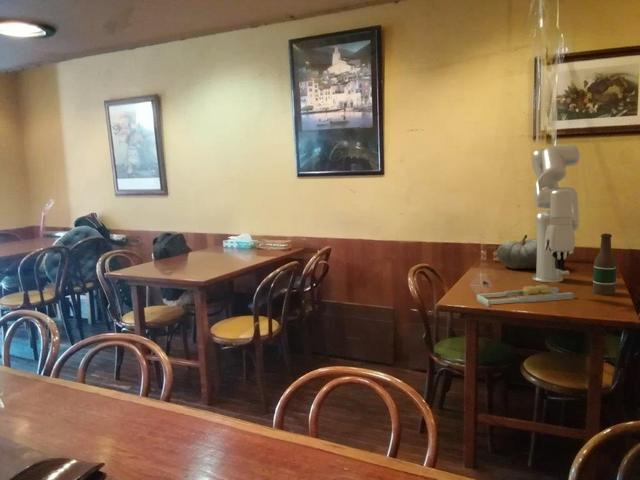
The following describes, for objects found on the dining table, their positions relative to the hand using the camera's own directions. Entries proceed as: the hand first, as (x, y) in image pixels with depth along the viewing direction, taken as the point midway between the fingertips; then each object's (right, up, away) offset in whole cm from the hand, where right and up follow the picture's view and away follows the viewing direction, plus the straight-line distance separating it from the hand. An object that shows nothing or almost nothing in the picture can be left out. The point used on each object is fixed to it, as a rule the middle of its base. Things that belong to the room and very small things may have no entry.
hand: (559, 268), depth 188 cm
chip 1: (-11, -11, 0) cm, 16 cm away
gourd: (+11, -3, +62) cm, 63 cm away
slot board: (-8, -12, +1) cm, 14 cm away
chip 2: (-6, -11, +1) cm, 12 cm away
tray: (-25, -13, -1) cm, 28 cm away
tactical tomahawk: (-20, -10, +21) cm, 30 cm away
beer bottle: (+21, -10, +6) cm, 24 cm away
